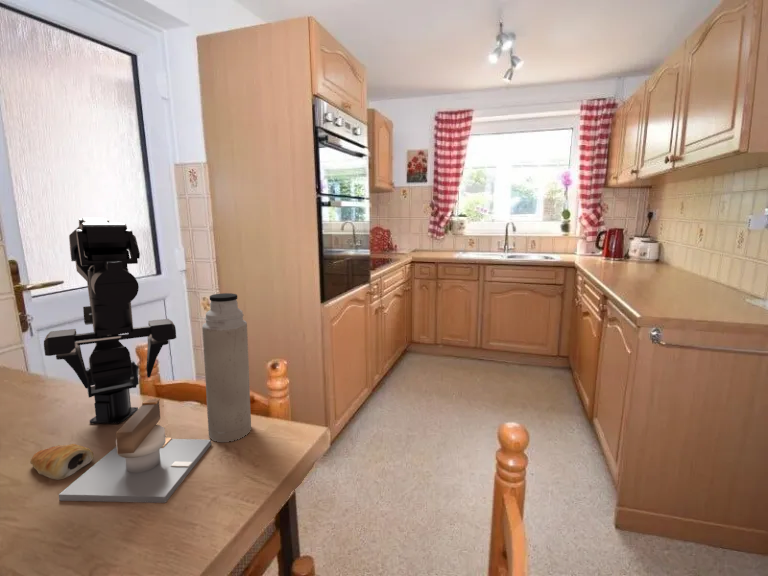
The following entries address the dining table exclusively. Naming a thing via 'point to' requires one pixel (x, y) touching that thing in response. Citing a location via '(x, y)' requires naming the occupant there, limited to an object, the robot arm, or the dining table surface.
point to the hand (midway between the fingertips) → (119, 381)
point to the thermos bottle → (226, 369)
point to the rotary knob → (141, 432)
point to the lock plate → (138, 474)
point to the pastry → (61, 460)
